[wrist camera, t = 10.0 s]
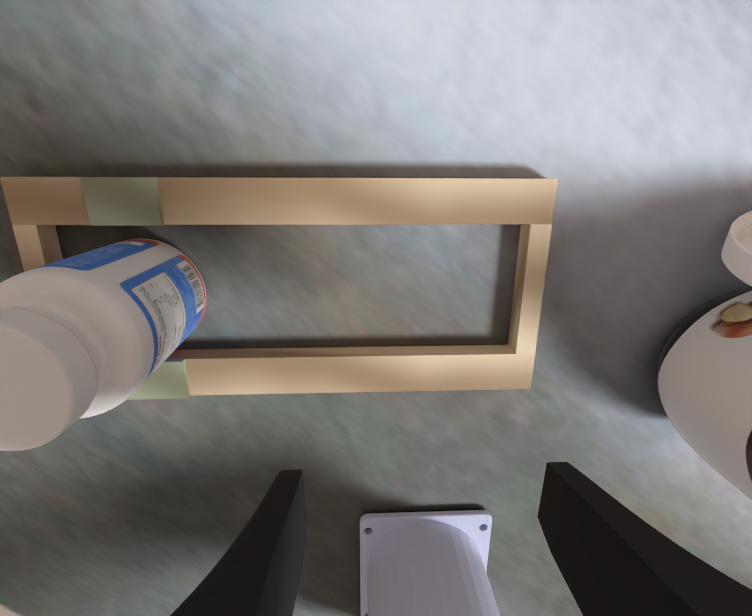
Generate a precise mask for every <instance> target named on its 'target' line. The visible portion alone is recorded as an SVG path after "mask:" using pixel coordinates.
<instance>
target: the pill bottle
mask: <svg viewBox="0 0 752 616" xmlns="http://www.w3.org/2000/svg"><path fill="white" fill-rule="evenodd" d="M206 301H207V297H206V289H205V284H204V282H203V279H202V277H201V275H200V273H199V271H198V269H197V268H196V266H195V265H194V264H193V263H192V261H191V260H190V259H189V258H188V257H187V256H186V255H185V254H183V253H182V252H181V251H179V250H178V249H176V248H175V247H173V246H171V245H169V244H167V243H164V242H161V241H158V240H153V239H145V238H138V239H129V240H124V241H120V242H117V243H113V244H110V245H107V246H104V247H100V248H97V249H94V250H91V251H88V252H85V253H81V254H78V255H74V256H71V257H69V258H65V259H62V260H59V261H56V262H53V263H50V264H47V265H44V266H41V267H37V268H34V269H31V270H28V271H26V272H23V273H20V274H18V275H15V276H13V277H10V278H8V279H7V280H5V281H3V282H1V283H0V450H4V451H20V450H26V449H33V448H36V447H39V446H41V445H44V444H46V443H48V442H50V441H51V440H53V439H54V438H56V437H57V436H58V435H60V434H61V433H62V432H63V431H64V430H65V429H66V428H68V427H69V426H70V425H71V424H72V423H74V422H75V421H77V420H78V419H79V418H87V417H91V416H95V415H99V414H102V413H104V412H107V411H109V410H111V409H113V408H115V407H117V406H118V405H120V404H121V403H123V402H124V401H125V400H126V399H128V398H129V397H130V396H131V395H132V394H133V393H134V392H135V391H136V390H137V389H138V388H139V387H140V386H141V385H142V384H143V383H144V382H145V381H146V380H147V379H148V378H149V377H150V375H151V374H152V373H153V372H154V371H155V370H156V369H157V368H158V367H159V366H160V365H161V364H162V363H163V362H164V361H165V360H166V359H167V358H168V357H169V356H170V355H171V354H172V353H173V351H174V350H175V349H176V348H177V347H178V346H179V345H180V344H181V343H182V342H183V341H184V340H185V339H186V338H187V337H188V336H189V335H190V334H191V333H192V332H193V331H194V329H195V328H196V327H197V325H198V324H199V323H200V321H201V319H202V317H203V315H204V312H205V309H206Z"/></svg>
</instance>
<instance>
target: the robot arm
mask: <svg viewBox="0 0 752 616" xmlns="http://www.w3.org/2000/svg"><path fill="white" fill-rule="evenodd" d="M538 519H539V522H540V524H541V527H542V530H543V533H544V535H545V538H546V541H547V543H548V546H549V548H550V551H551V553H552V555H553V557H554V559H555V561H556V563H557V565H558V567H559V569H560V571H561V573H562V575H563V577H564V579H565V581H566V583H567V585H568V587H569V589H570V591H571V593H572V595H573V596H574V598H575V600H576V602H577V604H578V606H579V608H580V610H581V612H582V614H583V616H752V590H751V589H749V588H748V587H746V586H744V585H742V584H740V583H739V582H737V581H735V580H733V579H732V578H730V577H728V576H727V575H725V574H723V573H722V572H720V571H718V570H717V569H715V568H713V567H712V566H710V565H709V564H707V563H705V562H704V561H702V560H701V559H699V558H697V557H696V556H694V555H693V554H691V553H689V552H688V551H686V550H685V549H683V548H682V547H680V546H679V545H677V544H676V543H674V542H673V541H672V540H670V539H669V538H667V537H666V536H664V535H663V534H662V533H660V532H659V531H657V530H656V529H654V528H653V527H652V526H650V525H649V524H647V523H646V522H645V521H643V520H642V519H641V518H639V517H638V516H637V515H635V514H634V513H633V512H631V511H630V510H629V509H627V508H626V507H625V506H623V505H622V504H621V503H619V502H618V501H617V500H616V499H614V498H613V497H612V496H610V495H609V494H608V493H607V492H605V491H604V490H603V489H602V488H600V487H599V486H598V485H596V484H595V483H594V482H593V481H591V480H590V479H589V478H588V477H586V476H585V475H584V474H582V473H581V472H580V471H579V470H577V469H576V468H575V467H573V466H572V465H571V464H569V463H568V462H549V463H547V465H546V471H545V477H544V483H543V489H542V494H541V500H540V506H539V512H538ZM482 524H484V525H483V526H480V525H482ZM491 525H492V517H491V515H490V513H489V512H488V511H486V510H467V511H435V512H403V513H372V514H364V515H363V516H362V517H361V518H360V593H361V616H500V613H499V610H498V607H497V604H496V601H495V598H494V595H493V592H492V589H491V586H490V583H489V579H488V576H487V573H486V569H487V561H488V552H489V543H490V534H491ZM366 528H371V529H368V530H367V529H366ZM305 532H306V514H305V499H304V483H303V470H281V471H280V472H279V473H278V474H277V476H276V478H275V480H274V482H273V483H272V485H271V487H270V489H269V490H268V492H267V494H266V495H265V497H264V498H263V500H262V502H261V503H260V505H259V506H258V508H257V509H256V511H255V512H254V514H253V515H252V517H251V518H250V520H249V521H248V523H247V524H246V526H245V527H244V529H243V530H242V531H241V533H240V534H239V536H238V537H237V538H236V540H235V541H234V542H233V544H232V545H231V546H230V547H229V549H228V550H227V551H226V553H225V554H224V555H223V557H222V558H221V559H220V561H219V562H218V563H217V564H216V565H215V567H214V568H213V569H212V570H211V572H210V573H209V574H208V575H207V576H206V577H205V579H204V580H203V581H202V582H201V583H200V584H199V585H198V587H197V588H196V589H195V590H194V591H193V592H192V593H191V594H190V595H189V596H188V598H187V599H186V600H185V601H184V602H183V603H182V604H181V605H180V606H179V607H178V608H177V609H176V610H175V611H174V612H173V613H172V614H171V615H170V616H292V615H293V610H294V604H295V599H296V594H297V589H298V584H299V579H300V574H301V568H302V563H303V554H304V544H305Z"/></svg>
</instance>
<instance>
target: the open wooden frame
mask: <svg viewBox="0 0 752 616" xmlns="http://www.w3.org/2000/svg"><path fill="white" fill-rule="evenodd" d="M0 181H1V185H2V189H3V192H4V196H5V200H6V204H7V208H8V212H9V215H10V219H11V223H12V227H13V231H14V234H15V238H16V242H17V246H18V250H19V254H20V257H21V261H22V265H23V269H24V272H26V271H28V270H31V269H34V268H37V267H41V266H44V265H47V264H50V263H53V262H56V261H59V260H62V259H63V256H62V252H61V247H60V243H59V239H58V234H57V230H56V225H90V226H162V225H379V224H521V227H520V236H519V245H518V255H517V264H516V273H515V282H514V291H513V300H512V310H511V319H510V328H509V337H508V345H458V346H388V347H317V348H246V349H176V350H174V351H173V353H172V354H171V355H170V356H169V357H168V358H167V359H166V360H165V361H164V362H163V363H162V364H161V365H160V366H159V367H158V368H157V369H156V370H155V371H154V372H153V373H152V374H151V375H150V377H149V378H148V379H147V380H146V381H145V382H144V383H143V384H142V385H141V386H140V387H139V388H138V389H137V390H136V391H135V392H134V393H133V394H132V395H131V396H130V397H129V398H128V399H178V398H188V397H189V396H190V395H230V394H283V393H336V392H389V391H442V390H495V389H531V382H532V374H533V366H534V359H535V351H536V344H537V336H538V328H539V321H540V313H541V306H542V298H543V291H544V283H545V275H546V268H547V260H548V253H549V245H550V238H551V230H552V222H553V215H554V207H555V200H556V192H557V185H558V179H544V178H264V177H0Z"/></svg>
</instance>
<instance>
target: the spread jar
mask: <svg viewBox="0 0 752 616" xmlns="http://www.w3.org/2000/svg"><path fill="white" fill-rule="evenodd" d="M721 256H722V261H723V262H724V264H725V266H726V267H727V269H728V270H730V271H731V272H732V273H733V274H734V275H735V276H736V277H737V278H739V279H740V280H742V281H743V282H745V283H746V284H748V285H750V286H752V211H750V212H747V213H745V214H743V215H741V216H740V217H738V218H737V219H736V220H735V221H734V222H733V223H732V225H731V227H730V230H729V232H728V235H727V238H726V240H725V243H724V246H723V248H722V251H721ZM656 379H657V387H658V392H659V396H660V399H661V402H662V405H663V408H664V410H665V412H666V414H667V416H668V418H669V420H670V421H671V423H672V424H673V426H674V427H675V428H676V430H677V431H678V432H679V434H680V435H681V437H682V438H683V439H684V440H685V441H686V442H687V444H688V445H689V446H690V447H691V448H692V449H693V450H694V451H695V452H696V453H697V454H698V455H699V456H700V457H701V458H702V459H703V460H705V461H706V462H707V463H708V464H709V465H710V466H711V467H712V468H714V469H715V470H716V471H717V472H718V473H719V474H721V475H722V476H723V477H724V478H726V479H727V480H728V481H729V482H730V483H732V484H733V485H734V486H735V487H736V488H738V489H739V490H740V491H741V492H742V493H744V494H745V495H746V496H747V497H749V498H750V499H751V500H752V287H750V288H746V289H743V290H739V291H736V292H733V293H730V294H727V295H725V296H722V297H720V298H717V299H715V300H713V301H711V302H709V303H707V304H706V305H704V306H702V307H701V308H699V309H698V310H696V311H695V312H693V313H692V314H691V315H690V316H689V317H687V318H686V319H685V320H684V321H683V322H682V323H681V324H680V325H679V326H678V328H677V329H676V330H675V331H674V333H673V334H672V335H671V337H670V338H669V340H668V341H667V343H666V345H665V347H664V348H663V350H662V353H661V355H660V358H659V362H658V366H657V374H656Z"/></svg>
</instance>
